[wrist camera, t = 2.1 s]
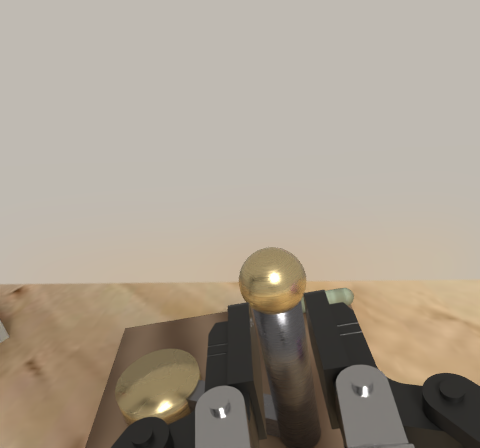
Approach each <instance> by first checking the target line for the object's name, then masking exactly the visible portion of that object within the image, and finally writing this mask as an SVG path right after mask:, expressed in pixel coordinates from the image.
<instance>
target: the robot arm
mask: <svg viewBox="0 0 480 448" xmlns="http://www.w3.org/2000/svg"><path fill="white" fill-rule="evenodd" d="M303 298H304V305H305V311H306V318H307V325H308V331H309V337H310V342H311V346H312V350H313V355H314V359H315V363H316V367H317V371H318V375H319V379H320V383H321V387H322V391H323V395H324V399H325V403H326V407H327V412H328V416H329V420H330V424H331V428H332V429H339V428H340V431H341V435H342V438H343V444H344V448H480V386H478V385H477V384H475V383H474V382H472V381H470V380H469V379H467V378H465V377H463V376H460V375H456V374H451V373H440V374H435V375H433V376H431V377H429V378H428V379H427V380H426V381H425V382H424V384H423V386H418V385H409V384H403V383H399V382H396V381H393V380H391V379H389V378H387V377H386V376H385V375H384V374H383V373H382V372H381V371H380V370H379V369H378V368H377V366H376V364H375V361H374V359H373V357H372V354H371V352H370V349H369V347H368V345H367V342H366V340H365V338H364V335H363V333H362V330H361V328H360V326H359V324H358V321H357V318H356V316H355V314H354V311H353V310H352V309H351V308H350V307H348V306H347V305H346V304H345V303H344V302H340V303H334V304H329V301H328V298H327V296H326V293H325V290H320V291H314V292H308V293H303ZM263 439H267V432H266V421H265V409H264V397H263V386H262V374H261V363H260V352H259V345H258V340H257V335H256V330H255V326H254V321H253V316H252V312H251V307H250V303H249V302H247V303H241V304H235V305H229V306H228V321H224V322H218V323H215V324H214V326H213V327H212V329H211V331H210V332H209V334H208V348H207V362H206V377H205V391H204V394H203V395H202V396H201V397H200V398H199V400H198V402H197V404H196V407H195V410H194V411H193V412H192V413H190V414H189V415H187V416H185V417H183V418H181V419H179V420H177V421H175V422H172V423H170V424H168V425H167V423H166V422H165V421H164V420H163V419H161V418H158V417H145V418H142V419H139V420H137V421H135V422H134V423H132V424H131V425H130V426H128V427H127V428H126V429H125V431H124V432H123V433H122V434H121V435H120V437H119V438H118V439H117V440H116V442H115V443H114V444H113V445H112V447H111V448H259V440H263Z"/></svg>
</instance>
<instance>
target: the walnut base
mask: <svg viewBox="0 0 480 448" xmlns="http://www.w3.org/2000/svg"><path fill="white" fill-rule="evenodd" d="M325 293H326V296H327V298H328V301H329V304H334V303H340V302H344V303H345V304H346V305H347V306H348V307H350V308H351V309H352V307H351V303H352V302H353V299H354V295H353V293H352V291H351V290H349V289H347V288H340V289H334V290H328V291H325ZM301 303H302V310H303V316H304V323H305V329H306V336H307V342H308V349H309V355H310V362H311V368H312V375H313V381H314V388H315V394H316V401H317V407H318V414H319V420H320V427H321V438H320V440H319V442H318V443H317V445H316V446H314V447H313V448H344V444H343V438H342V435H341V431H340V428H339V429H332V428H331V424H330V420H329V416H328V412H327V407H326V403H325V399H324V395H323V391H322V387H321V383H320V379H319V375H318V371H317V367H316V363H315V359H314V355H313V350H312V346H311V342H310V337H309V331H308V325H307V318H306V311H305V305H304V298H303V297H302V299H301ZM352 310H353V309H352ZM251 312H252V316H253V321H254V326H255V330H256V335H257V340H258V345H259V352H260V363H261V374H262V386H263V393H264V394H269V395H271V392H270V387H269V382H268V378H267V373H266V368H265V364H264V359H263V354H262V350H261V345H260V341H259V336H258V331H257V327H256V322H255V317H254V313H253V308H251ZM224 321H228V312H222V313H216V314H210V315H204V316H198V317H192V318H186V319H180V320H174V321H168V322H162V323H156V324H150V325H144V326H138V327H131V328H125V331H124V334H123V337H122V340H121V343H120V346H119V349H118V352H117V355H116V358H115V361H114V364H113V367H112V370H111V373H110V376H109V379H108V382H107V385H106V387H105V390H104V393H103V396H102V399H101V402H100V405H99V408H98V411H97V414H96V417H95V420H94V423H93V426H92V429H91V432H90V435H89V438H88V441H87V444H86V447H85V448H111V447H112V445H113V444H114V443H115V442H116V440H117V439H118V438H119V437H120V435H121V434H122V433H123V432H124V431H125V429H126V428H127V427H128V425H127V424H126V422H125V419H124V417H123V415H122V412H121V410H120V408H119V405H118V403H117V401H116V397H115V388H116V384H117V382H118V380H119V378H120V376H121V375H122V373H123V372H124V371H125V370H126V369H127V368H128V367H129V366H130V365H131V364H132V363H133V362H135V361H136V360H138V359H139V358H141V357H143V356H144V355H147V354H149V353H151V352H154V351H158V350H162V349H180V350H183V351H186V352H188V353H190V354H191V355H192V356H193V357H194V358H195V359H196V361H197V364H198V367H199V370H200V373H201V377H202V380H203V381H205V377H206V362H207V348H208V334H209V332H210V331H211V329H212V327H213V326H214V324H215V323H218V322H224ZM358 324H359V323H358ZM259 448H287V447H286V446H285V445H284V444H283V442H282V441H281V438H280V437H276V436H272V435H268V434H267V439H263V440H259Z"/></svg>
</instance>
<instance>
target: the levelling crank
mask: <svg viewBox="0 0 480 448" xmlns="http://www.w3.org/2000/svg"><path fill="white" fill-rule="evenodd" d="M239 287H240V291H241V294H242V296H243V298H244V300H245V301H246V302H249V303H250V307H252V308H253V313H254V317H255V322H256V327H257V331H258V336H259V341H260V345H261V350H262V354H263V359H264V364H265V368H266V373H267V378H268V382H269V387H270V392H271V395H269V394H264V393H263V397H264V409H265V421H266V432H267V434H268V435H272V436H276V437H280V438H281V441H282V442H283V444H284V445H285V446H286V447H287V448H313V447H314V446H316V445H317V443H318V442H319V440H320V438H321V427H320V420H319V414H318V407H317V401H316V394H315V388H314V381H313V375H312V368H311V362H310V355H309V349H308V342H307V336H306V329H305V323H304V316H303V310H302V303H301V299H302V297H303V293H305V289H306V274H305V271H304V268H303V266H302V264H301V263H300V261H299V260H298V259H297V258H296V257H295V256H294V255H293V254H292V253H290V252H288V251H286V250H284V249H281V248H274V247H270V248H264V249H261V250H258V251H256V252H255V253H253V254H252V255H251V256H250V257H248V258H247V260H246V261H245V262H244V264H243V266H242V268H241V271H240V275H239ZM204 391H205V381H203V380H202V377H201V373H200V370H199V367H198V364H197V361H196V359H195V358H194V357H193V356H192V355H191V354H190V353H188V352H186V351H183V350H180V349H162V350H158V351H154V352H151V353H149V354H147V355H144V356H143V357H141V358H139V359H138V360H136V361H135V362H133V363H132V364H131V365H130V366H129V367H128V368H127V369H126V370H125V371H124V372H123V373H122V375H121V376H120V378H119V380H118V382H117V384H116V388H115V397H116V401H117V403H118V405H119V408H120V410H121V412H122V415H123V417H124V419H125V422H126V424H127V425H128V426H130V425H131V424H132V423H134V422H135V421H137V420H139V419H142V418H145V417H158V418H161V419H163V420H164V421H165V422H166V423H167V425H168V424H170V423H172V422H175V421H177V420H179V419H181V418H183V417H185V416H187V415H189V414H190V413H192V412H193V411H194V410H195V407H196V404H197V402H198V400H199V398H200V397H201V396H202V395H203V394H204Z"/></svg>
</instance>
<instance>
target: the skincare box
mask: <svg viewBox="0 0 480 448" xmlns="http://www.w3.org/2000/svg"><path fill="white" fill-rule="evenodd" d="M7 338H9V335H8V333H7V331H6V329H5V327H4V326H3V324H2V322H1V320H0V343H1V342H3V341H4V340H6V339H7Z"/></svg>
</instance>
